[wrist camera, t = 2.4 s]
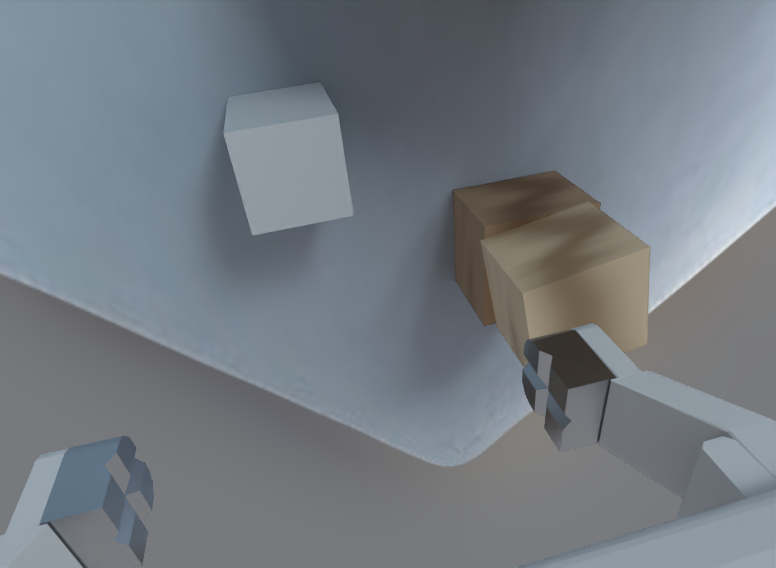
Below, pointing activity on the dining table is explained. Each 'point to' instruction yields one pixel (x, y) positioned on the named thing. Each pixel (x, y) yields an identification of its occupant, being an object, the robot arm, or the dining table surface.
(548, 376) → the robot arm
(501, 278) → the oak block
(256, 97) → the grey block
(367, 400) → the dining table surface
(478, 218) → the walnut block
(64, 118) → the dining table surface
